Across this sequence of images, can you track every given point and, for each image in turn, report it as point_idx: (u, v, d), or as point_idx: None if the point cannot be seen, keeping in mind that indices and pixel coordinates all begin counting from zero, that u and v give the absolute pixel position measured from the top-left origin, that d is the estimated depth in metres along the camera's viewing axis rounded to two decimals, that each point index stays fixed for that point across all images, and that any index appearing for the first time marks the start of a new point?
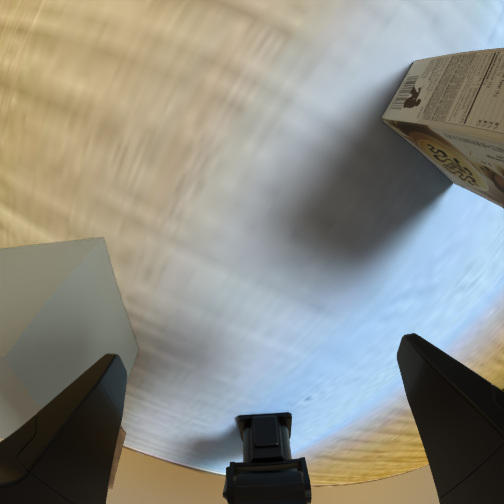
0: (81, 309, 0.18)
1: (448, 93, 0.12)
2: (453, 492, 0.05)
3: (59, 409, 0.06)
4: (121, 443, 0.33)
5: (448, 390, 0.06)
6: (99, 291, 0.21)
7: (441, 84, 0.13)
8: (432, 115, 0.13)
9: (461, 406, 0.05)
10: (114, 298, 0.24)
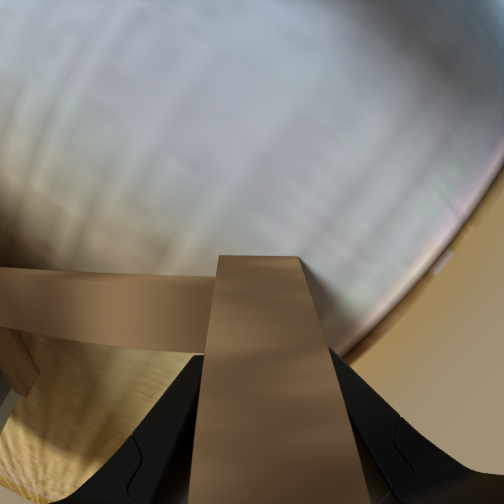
0: None
1: None
2: None
3: (163, 424, 0.06)
4: (287, 289, 0.10)
5: None
6: None
7: None
8: None
9: (358, 436, 0.05)
10: None
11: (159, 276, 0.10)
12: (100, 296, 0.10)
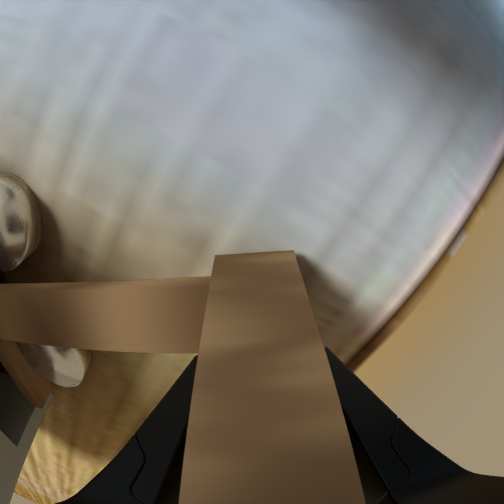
0: None
1: None
2: None
3: (166, 424, 0.06)
4: (281, 283, 0.10)
5: None
6: None
7: None
8: None
9: (355, 436, 0.05)
10: None
11: (157, 280, 0.10)
12: (102, 304, 0.10)
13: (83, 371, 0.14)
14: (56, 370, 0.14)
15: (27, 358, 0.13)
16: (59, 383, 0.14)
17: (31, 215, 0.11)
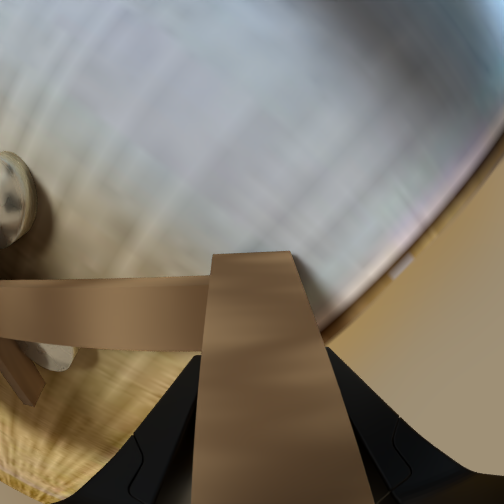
0: None
1: None
2: None
3: (164, 424, 0.06)
4: (279, 283, 0.10)
5: None
6: None
7: None
8: None
9: (357, 436, 0.05)
10: None
11: (155, 278, 0.10)
12: (100, 302, 0.10)
13: (72, 353, 0.13)
14: (45, 353, 0.13)
15: (17, 341, 0.13)
16: (48, 367, 0.14)
17: (28, 190, 0.10)
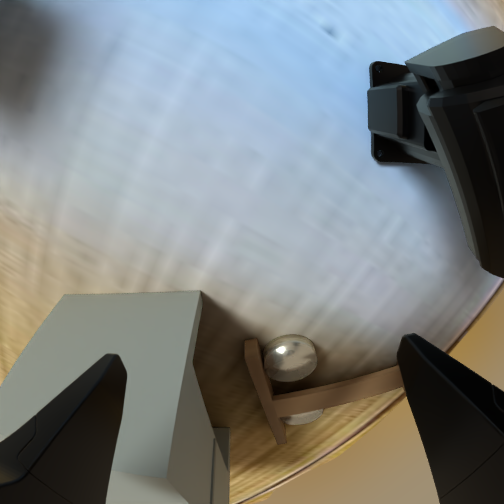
0: (55, 345, 0.16)
1: None
2: (453, 492, 0.05)
3: (59, 409, 0.06)
4: None
5: (448, 390, 0.06)
6: (78, 317, 0.19)
7: None
8: None
9: (461, 406, 0.05)
10: (110, 302, 0.21)
11: (385, 369, 0.24)
12: (364, 384, 0.24)
13: None
14: (303, 417, 0.27)
15: (282, 417, 0.27)
16: (300, 423, 0.28)
17: None
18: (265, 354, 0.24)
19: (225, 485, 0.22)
